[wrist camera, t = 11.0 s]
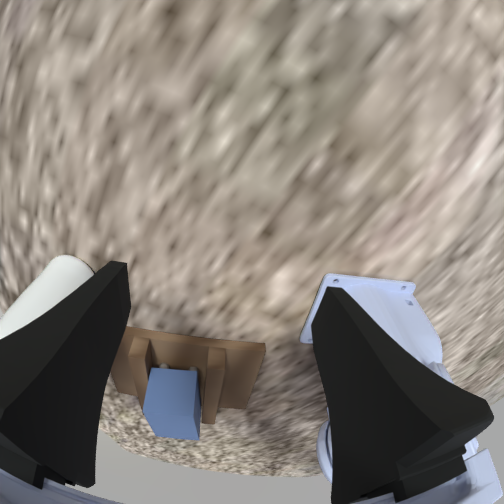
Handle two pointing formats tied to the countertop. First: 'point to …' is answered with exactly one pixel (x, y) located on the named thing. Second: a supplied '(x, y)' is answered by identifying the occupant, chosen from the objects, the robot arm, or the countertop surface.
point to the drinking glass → (45, 292)
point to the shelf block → (173, 403)
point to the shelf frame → (189, 366)
